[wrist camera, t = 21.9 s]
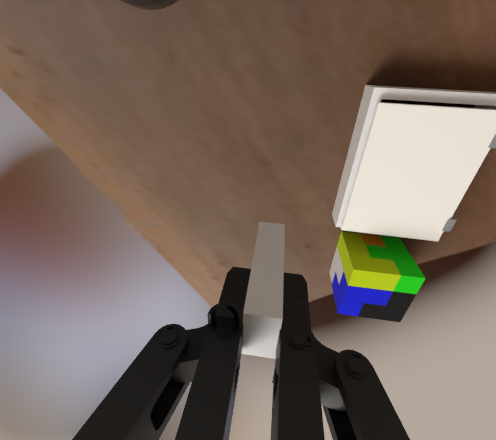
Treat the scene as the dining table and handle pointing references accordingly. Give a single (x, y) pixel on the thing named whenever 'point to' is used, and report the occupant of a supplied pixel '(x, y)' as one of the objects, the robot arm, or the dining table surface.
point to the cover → (417, 168)
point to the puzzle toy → (374, 276)
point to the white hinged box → (365, 117)
